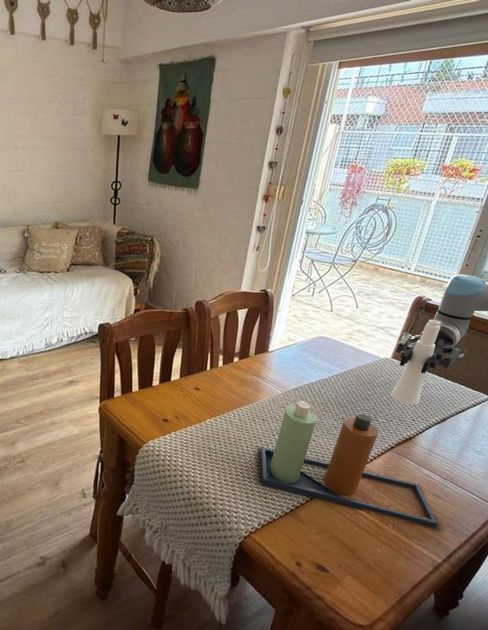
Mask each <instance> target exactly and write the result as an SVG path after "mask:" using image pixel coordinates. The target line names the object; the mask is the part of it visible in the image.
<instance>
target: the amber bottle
mask: <svg viewBox="0 0 488 630" xmlns="http://www.w3.org/2000/svg"><path fill="white" fill-rule="evenodd" d="M372 420H373V419H372V417H371V416H370V415H367V414H365V413H359V412H358V413H357V414H356V416H355V417H348V418H345V419H344V420H343V422H342V425H341V428H340V431H339V434H338V436H337V440H336V443H335V446H334V449H333V452H332V455H331V457H330V460H329V462H328V463H329V466H328V468H326V469H327V470H326V471H325V472H326V473H325V475H324V478H323V482H324V485H325V486H326V488H327V489H328V490H329V491H331V492H332V493H334V494H336V495H338V496H344V497H350V496H354V495H355V494H356V492H357V490H358V487H359V484H360V481H361V480H362V478H363V477H362V474H363V471H365V469H366V465H367V463H368V461H369V459H370V456H371V453H372V452H373V451H372V450H373V448H374V445H375V442H376V440H377V438H378V435H379V430H378V428H377V427H376V426H375V425H374V424H372Z"/></svg>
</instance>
